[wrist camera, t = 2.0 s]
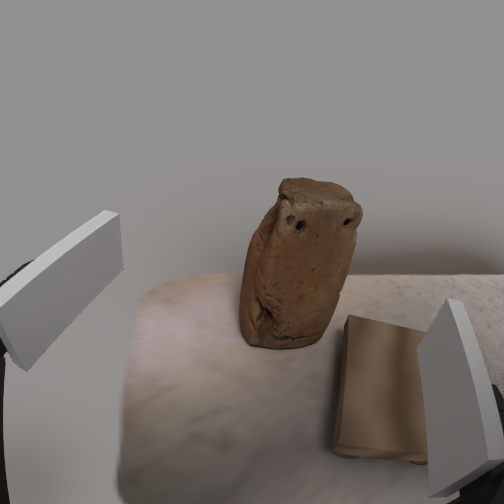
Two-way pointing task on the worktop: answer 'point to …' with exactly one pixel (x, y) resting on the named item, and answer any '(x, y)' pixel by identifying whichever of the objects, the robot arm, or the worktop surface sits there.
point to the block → (298, 264)
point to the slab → (380, 394)
